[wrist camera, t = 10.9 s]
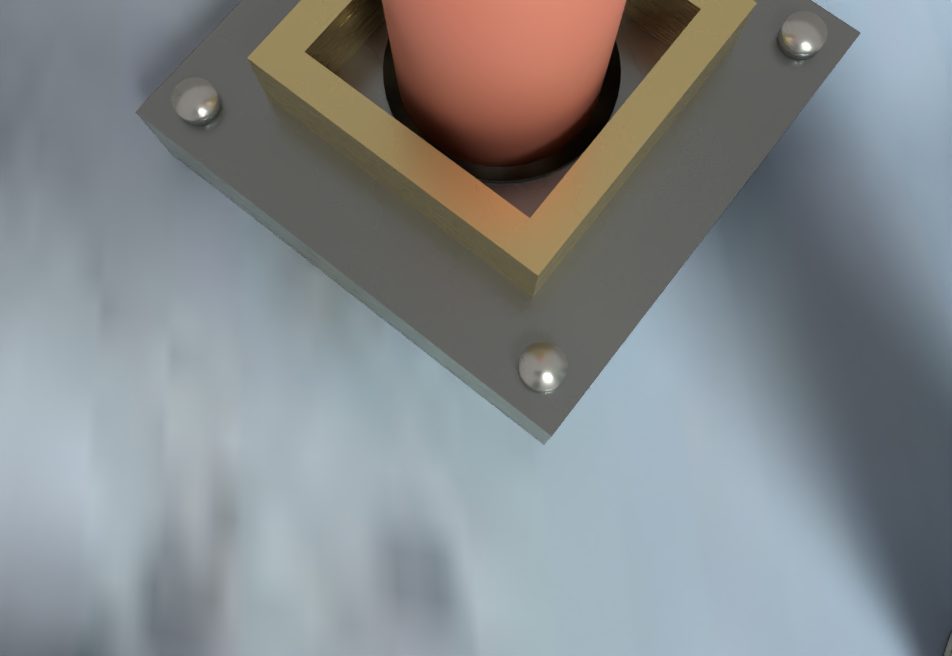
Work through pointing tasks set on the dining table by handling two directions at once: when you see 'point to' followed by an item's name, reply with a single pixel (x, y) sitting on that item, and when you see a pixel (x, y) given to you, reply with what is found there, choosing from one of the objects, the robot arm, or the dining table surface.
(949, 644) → the spray can
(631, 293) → the square socket fixture
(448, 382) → the dining table surface
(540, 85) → the sippy cup
